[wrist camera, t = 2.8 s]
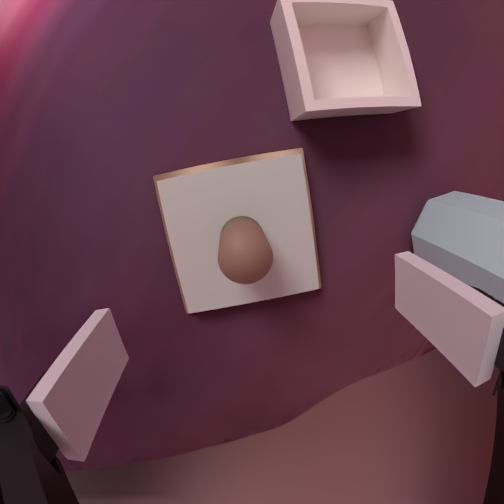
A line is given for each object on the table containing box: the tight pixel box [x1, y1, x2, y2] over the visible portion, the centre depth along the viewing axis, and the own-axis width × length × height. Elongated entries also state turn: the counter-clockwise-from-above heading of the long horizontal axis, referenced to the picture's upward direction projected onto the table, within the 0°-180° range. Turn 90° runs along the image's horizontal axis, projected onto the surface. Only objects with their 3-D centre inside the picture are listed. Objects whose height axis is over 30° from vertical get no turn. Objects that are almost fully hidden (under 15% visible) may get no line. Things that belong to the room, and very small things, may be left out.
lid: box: [157, 154, 319, 314], centre depth 24 cm, size 12×12×7 cm
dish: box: [270, 0, 421, 121], centre depth 22 cm, size 10×10×6 cm
